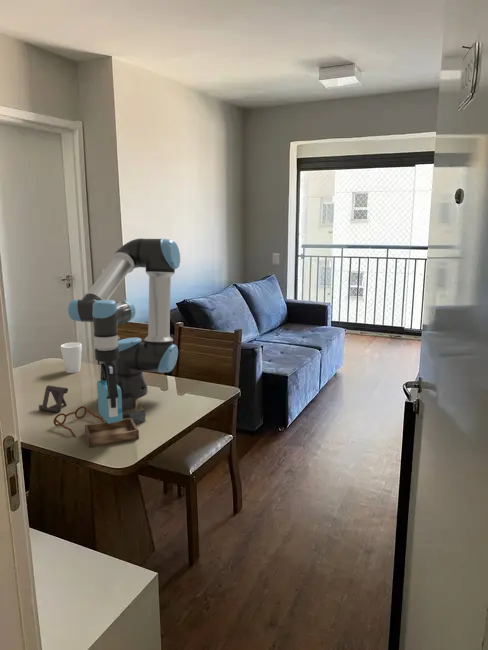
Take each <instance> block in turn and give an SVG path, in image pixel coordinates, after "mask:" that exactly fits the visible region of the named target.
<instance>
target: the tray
mask: <svg viewBox="0 0 488 650" xmlns="http://www.w3.org/2000/svg"><path fill="white" fill-rule="evenodd" d="M139 431H140V430H139V428H138V427H137V424H136V423H134V421H133V419H132V418H126V419H122V421H120V422H115V423H110V424H108V423H107V422H106V421H104V422H102V421H101V422H96V423H90V424H89V423H88V424H85V425H84V435H85V437H86V442H87V445H88V448H89V449H90V448H94V447H100V446H101V447H102V446H105V445H106V446H107V445H112V444H116V443H117V444H118V443H123V442H128V441H134V439H135V440H139V439H140V433H139ZM138 438H139V439H138Z"/></svg>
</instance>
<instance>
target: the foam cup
mask: <svg viewBox="0 0 488 650" xmlns="http://www.w3.org/2000/svg"><path fill="white" fill-rule="evenodd" d="M82 350H83V345H82V343H81V342H66V343H63V344H61V345H60V352H61V355H62V358H63V363H64V368H65V373H68V374H75V373H79V372H80V371H81V365H82V364H81V363H82V362H81V361H82Z"/></svg>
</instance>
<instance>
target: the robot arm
mask: <svg viewBox="0 0 488 650" xmlns="http://www.w3.org/2000/svg"><path fill="white" fill-rule="evenodd" d="M180 263H181V253H180V249H179V246H178V243H176V241H175V240H173V239H167V238H135V239H132V240H129V241H128V242H126V243H125V244H123V245H122V246H120V247H119V248H118V249H117V250H115V252H114V254H113V255H112V256H111V261H110V262H109V264H108V265H107V267H105V268H104V270H103V272H102V273H101V274H100V275H99V276H98V278H97V279H96V281H95V282H94V283H93V285H92V286H91V287H90V288H89V290H88V291H87V292H86V293H85V294H84V296H83V297H82V298H81V299H79V298H78V299H77V298H76V299H72V300H70V302H69V304H68V308H67V314H68V316H69V318H70V319H71V320H72V321H75V322H81V323H92V324H93V325H92V326H93V341H94V343H93V344H94V348H95V349H94V354H95V355H94V356H95V357H94V358H95V360H96V361H97V362H100V380H99V381H102V380H106V382H107V388H108V395H109V396H107V399H108V406H109V417H115V416H118V407H117V398H118V391H117V385H118V386H119V387H120V389H121V396H122V398H126V397H133V396H136V398H139V397H143V396H144V395H146V394H148V384H147V381H146V380H145V376H144V374H143V372H144V371H145V372H154V373H159V374H161V373H170V372H172V371H173V369H174V368H175V366H176V364H177V362H178V361H177V360H178V357H179V349H178V346H177V345H176V344H175V343H174V339H173V337H171V335H170V334H171V333H170V329H171V327H170V326H171V324H170V323H171V321H170V320H171V288H172V287H171V285H172V283H171V280H172V279H171V278H172V277H173V275H175V271H176V269H178V268H179V267H180ZM137 268H145V273H146V274H147V276H148V322H147V323H148V326H147V327H148V329H147V330H148V335H147V336H146V337H145V338H144V341H142V338H140V337H127V338H123V339H121V337H120V336H118V335H119V331H118V330H119V329H118V327H119V326H121V325H123V324H126V323H129V322H130V321H132V320H133V319H134V318H135V316H136V307H135V305H134V303H132V302H131V301H130V300H127V299H124V300H123V299H122V300H119V301H115V300H113V299H110V298H111V297H112V295H113V294H114V293H115V292H116V290H117V288H118V287H119V286H120V284H121V283H122V282H123V280H124V279H125V278H126V276H127V275H128V274H130V273H132V272H133V271H134V269H137Z"/></svg>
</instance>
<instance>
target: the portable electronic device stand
mask: <svg viewBox="0 0 488 650" xmlns="http://www.w3.org/2000/svg"><path fill="white" fill-rule="evenodd" d="M50 392H51V395H52V397H53V399H54V401H55V403H56V407H53V406H50V407H47V405H48V403H49V397H50ZM68 392H69V389H68V387H62V386H54V385H47V386H46V387H45V392H44V396H43V401H42V404H39V405H38V410H40V411H43V412H44V411H45V412H49V413H50V412H51V413H56V414H57V413H58V414H61V410H62V406H63V407H64V406H66V407H67V402H66V400H65V398H64V396H65V394H67V393H68Z"/></svg>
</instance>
